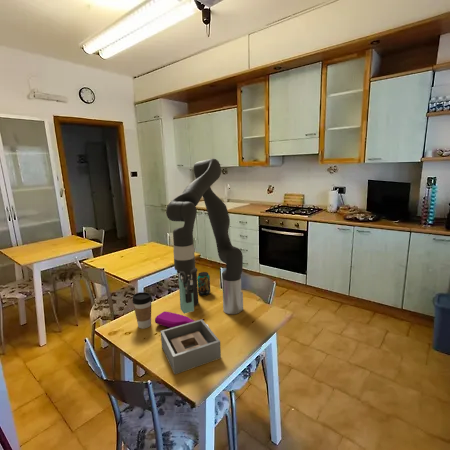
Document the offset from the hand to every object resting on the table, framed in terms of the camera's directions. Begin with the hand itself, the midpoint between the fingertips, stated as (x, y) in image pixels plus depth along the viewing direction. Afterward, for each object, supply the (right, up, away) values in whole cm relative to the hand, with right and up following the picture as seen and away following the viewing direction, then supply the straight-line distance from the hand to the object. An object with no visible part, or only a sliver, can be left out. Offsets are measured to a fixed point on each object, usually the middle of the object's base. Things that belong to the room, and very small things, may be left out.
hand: (186, 299), depth 105 cm
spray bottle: (-5, -18, +23) cm, 29 cm away
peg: (0, -4, +1) cm, 4 cm away
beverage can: (+3, -11, +56) cm, 57 cm away
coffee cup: (-23, -19, +25) cm, 39 cm away
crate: (+1, -22, +4) cm, 22 cm away
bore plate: (+1, -22, +4) cm, 22 cm away
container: (-4, -14, +44) cm, 46 cm away
